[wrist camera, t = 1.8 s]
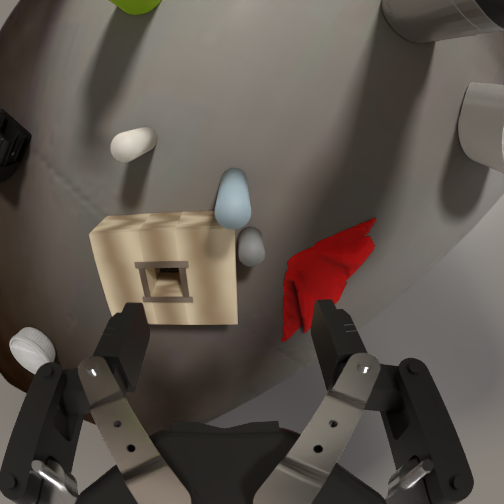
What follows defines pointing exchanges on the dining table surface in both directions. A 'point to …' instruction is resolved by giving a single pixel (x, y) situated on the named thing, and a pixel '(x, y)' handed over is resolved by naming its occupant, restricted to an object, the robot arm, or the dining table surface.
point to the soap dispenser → (136, 6)
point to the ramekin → (32, 349)
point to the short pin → (250, 247)
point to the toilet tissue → (483, 124)
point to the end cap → (11, 145)
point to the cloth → (322, 274)
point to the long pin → (233, 200)
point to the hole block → (169, 266)
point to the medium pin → (133, 144)
